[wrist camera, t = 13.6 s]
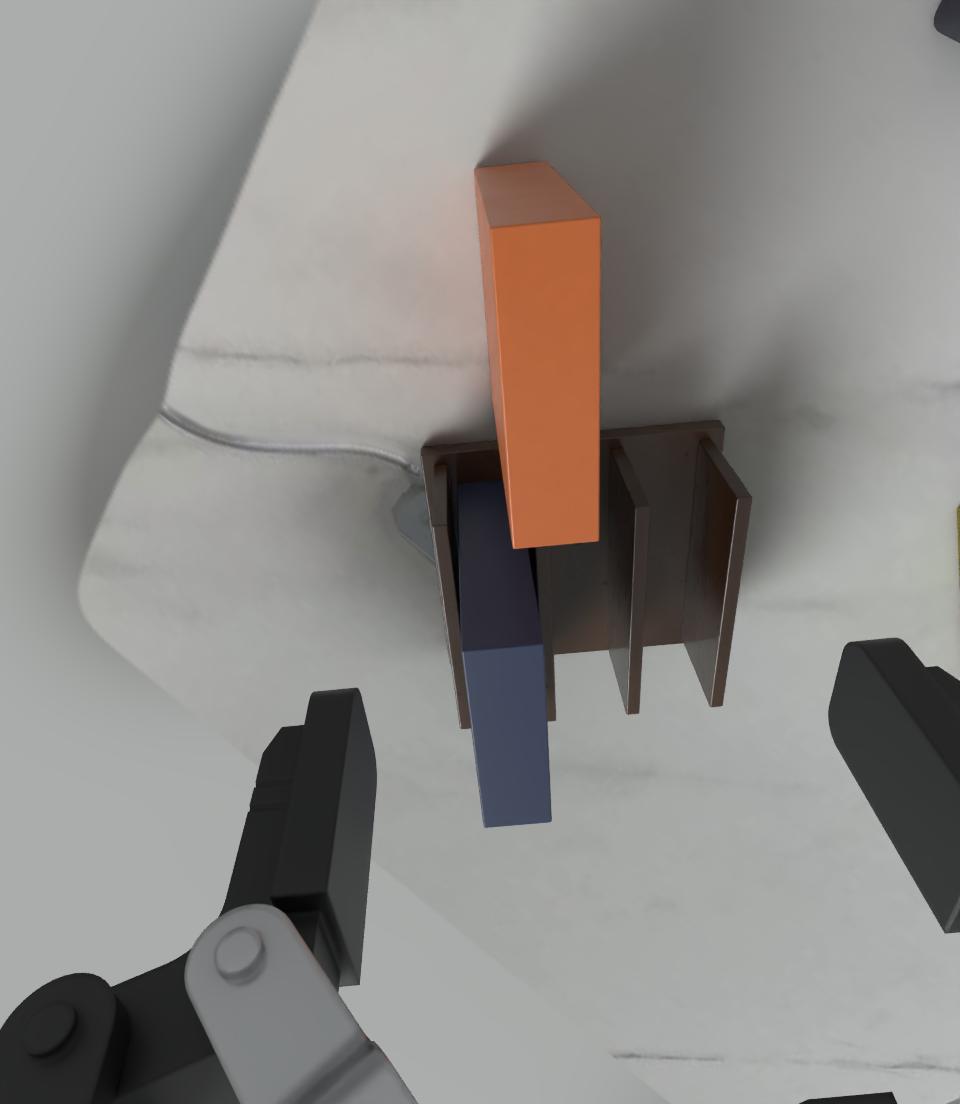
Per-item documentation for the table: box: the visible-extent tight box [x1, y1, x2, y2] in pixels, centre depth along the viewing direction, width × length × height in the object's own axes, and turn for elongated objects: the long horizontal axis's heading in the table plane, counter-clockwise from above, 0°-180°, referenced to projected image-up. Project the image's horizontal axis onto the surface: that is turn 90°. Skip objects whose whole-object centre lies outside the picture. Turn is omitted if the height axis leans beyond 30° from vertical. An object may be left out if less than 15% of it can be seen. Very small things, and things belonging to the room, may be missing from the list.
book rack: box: [421, 420, 752, 729], centre depth 33 cm, size 13×12×6 cm
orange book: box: [474, 161, 601, 549], centre depth 24 cm, size 3×9×11 cm, turn 5°
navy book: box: [457, 480, 552, 828], centre depth 30 cm, size 3×9×11 cm, turn 5°
